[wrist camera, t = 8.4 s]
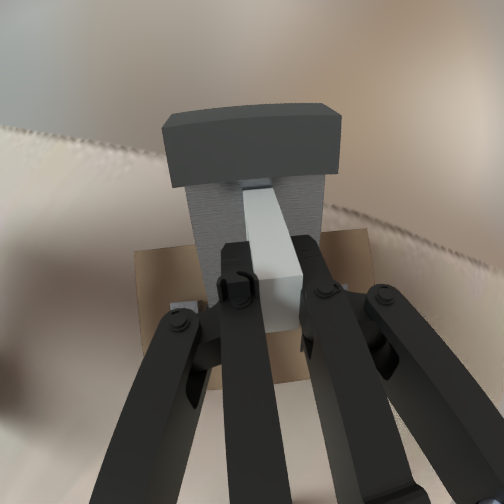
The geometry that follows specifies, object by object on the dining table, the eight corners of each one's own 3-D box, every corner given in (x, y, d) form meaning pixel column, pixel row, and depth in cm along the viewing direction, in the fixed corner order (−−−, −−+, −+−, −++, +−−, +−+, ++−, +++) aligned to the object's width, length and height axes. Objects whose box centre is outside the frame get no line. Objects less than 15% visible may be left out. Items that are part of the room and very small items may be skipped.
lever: (210, 344, 22) (161, 128, 12) (210, 314, 24) (171, 114, 14) (316, 332, 22) (341, 115, 12) (308, 303, 24) (321, 103, 15)
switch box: (168, 372, 29) (139, 401, 20) (156, 261, 31) (122, 246, 22) (354, 351, 30) (394, 370, 21) (342, 242, 32) (379, 221, 22)
